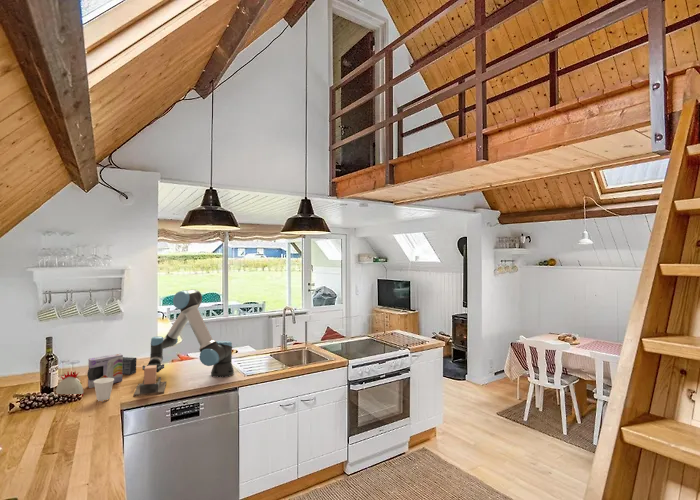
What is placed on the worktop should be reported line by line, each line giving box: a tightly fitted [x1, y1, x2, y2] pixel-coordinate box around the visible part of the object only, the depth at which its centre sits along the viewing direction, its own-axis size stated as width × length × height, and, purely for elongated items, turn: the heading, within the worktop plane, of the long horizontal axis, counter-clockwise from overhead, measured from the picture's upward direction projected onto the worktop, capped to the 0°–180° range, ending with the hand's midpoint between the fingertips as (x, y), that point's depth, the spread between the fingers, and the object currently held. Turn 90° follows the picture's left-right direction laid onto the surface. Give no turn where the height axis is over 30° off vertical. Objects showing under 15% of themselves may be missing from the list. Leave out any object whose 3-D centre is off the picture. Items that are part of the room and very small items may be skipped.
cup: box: [94, 378, 114, 402], centre depth 220 cm, size 10×10×11 cm
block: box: [143, 365, 157, 384], centre depth 233 cm, size 6×6×14 cm
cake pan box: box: [86, 353, 124, 389], centre depth 245 cm, size 19×5×18 cm, turn 137°
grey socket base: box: [132, 376, 167, 398], centre depth 238 cm, size 16×20×6 cm
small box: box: [122, 356, 138, 376], centre depth 268 cm, size 11×6×10 cm, turn 84°
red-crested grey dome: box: [55, 370, 84, 397], centre depth 223 cm, size 14×14×15 cm
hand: (150, 374), depth 236 cm, fingers closed
